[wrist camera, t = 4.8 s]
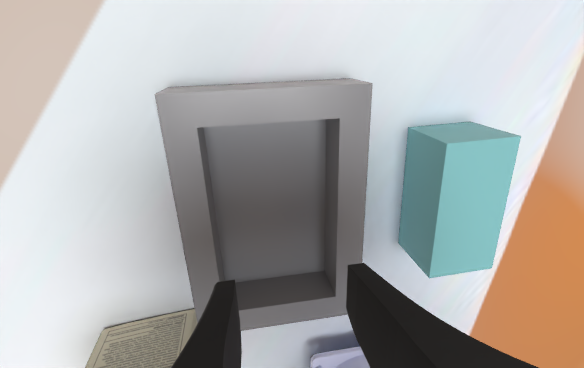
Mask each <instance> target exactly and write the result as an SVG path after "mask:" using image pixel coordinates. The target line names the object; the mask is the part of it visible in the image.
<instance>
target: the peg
mask: <svg viewBox="0 0 584 368" xmlns="http://www.w3.org/2000/svg"><path fill="white" fill-rule="evenodd" d="M520 138H521V136H518V135H515V134H511V133H508V132H504V131H501V130H497V129H494V128H490V127H487V126H484V125H480V124H477V123H473V122H461V123H450V124H439V125H428V126H417V127H408V137H407V148H406V160H405V172H404V183H403V195H402V207H401V218H400V230H399V242H398V243H399V244H400V245H401V246H402V248H403V249H404V250H405V251H406V252H407V253H408V254H409V256H410V257H411V258H412V259H413V260H414V261H415V262H416V264H417V265H418V266H419V267H420V268H421V269H422V271H423V272H424V273H425V274H426V275H427V276H428V277H429V278H434V277H440V276H446V275H452V274H459V273H465V272H471V271H477V270H484V269H490V268H492V265H493V260H494V256H495V251H496V247H497V242H498V238H499V233H500V229H501V224H502V220H503V215H504V210H505V206H506V201H507V197H508V192H509V188H510V183H511V179H512V174H513V170H514V165H515V161H516V156H517V151H518V147H519V142H520Z"/></svg>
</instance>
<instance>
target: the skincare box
mask: <svg viewBox="0 0 584 368" xmlns="http://www.w3.org/2000/svg"><path fill="white" fill-rule="evenodd" d="M196 325H197V318H196V312H195V309H191V310H186V311H181V312H176V313H171V314H167V315H162V316H158V317H153V318H149V319H145V320H140V321H135V322H131V323H126V324H123V325H119V326H115V327H111V328H107V329H104V330H103V331H102V333H101V335H100V337H99V339H98V341H97V343H96V345H95V347H94V349H93V352H92V354H91V356H90V358H89V360H88V362H87V365H86V367H85V368H171V367H172V365H173V364H174V362H175V361H176V359H177V358H178V356H179V355H180V353H181V351H182V350H183V348H184V346H185V345H186V343H187V341H188V340H189V338H190V336H191V334H192V333H193V331H194V329H195V327H196Z"/></svg>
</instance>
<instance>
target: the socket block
mask: <svg viewBox="0 0 584 368" xmlns="http://www.w3.org/2000/svg"><path fill="white" fill-rule="evenodd" d="M155 99H156V104H157V110H158V115H159V120H160V126H161V131H162V136H163V142H164V147H165V152H166V158H167V163H168V168H169V174H170V179H171V184H172V190H173V195H174V200H175V206H176V211H177V216H178V222H179V227H180V232H181V238H182V243H183V248H184V254H185V259H186V264H187V270H188V275H189V280H190V286H191V291H192V296H193V302H194V307H195V312H196V318H197V323H198V322H199V320H200V318H201V316H202V314H203V312H204V310H205V307H206V305H207V303H208V301H209V299H210V296H211V294H212V291H213V288H214V285H215V284H216V283H217V282H221V281H229V280H235V285H236V293H237V301H238V309H239V317H240V329H241V331H242V330H249V329H255V328H262V327H269V326H275V325H282V324H288V323H295V322H301V321H308V320H315V319H321V318H328V317H334V316H341V315H347V314H348V313H347V310H346V296H347V271H348V265H351V264H359V263H362V252H363V235H364V218H365V201H366V184H367V167H368V150H369V133H370V116H371V99H372V83H369V82H364V81H360V80H355V79H331V80H310V81H290V82H269V83H248V84H228V85H207V86H186V87H168V88H166V89H164V90H162V91H160V92H158V93H156V94H155Z"/></svg>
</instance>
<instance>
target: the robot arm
mask: <svg viewBox="0 0 584 368" xmlns="http://www.w3.org/2000/svg"><path fill="white" fill-rule="evenodd" d="M346 310H347V313H348V316H349V319H350V322H351V325H352V328H353V331H354V334H355V336H356V338H357V341H358V343H359V345H360V346H359V347H353V348H347V349H341V350H335V351H329V352H323V353H317V354H315V355H313V356H312V357H311V368H538V367H536V366H533V365H531V364H528V363H526V362H524V361H521V360H519V359H517V358H514V357H512V356H510V355H507V354H505V353H503V352H500V351H499V350H496V349H494V348H492V347H490V346H488V345H486V344H484V343H482V342H480V341H478V340H476V339H474V338H472V337H470V336H468V335H466V334H465V333H463V332H461V331H459V330H458V329H456V328H454V327H452V326H451V325H449V324H447V323H445V322H444V321H442V320H440V319H439V318H437V317H436V316H434V315H432V314H431V313H429V312H428V311H426V310H425V309H424V308H422V307H421V306H419V305H418V304H416V303H415V302H413V301H412V300H411V299H409V298H408V297H406V296H405V295H404V294H402V293H401V292H400V291H398V290H397V289H396V288H394V287H393V286H392V285H391V284H389V283H388V282H387V281H386V280H384V279H383V278H382V277H381V276H379V275H378V274H377V273H376V272H374V271H373V270H372V269H371V268H369V267H368V266H367V265H366V264H364V263H359V264H351V265H348V271H347V296H346ZM171 368H241V329H240V317H239V309H238V301H237V293H236V285H235V280H229V281H221V282H217V283H216V284H215V285H214V288H213V291H212V294H211V296H210V299H209V301H208V303H207V305H206V307H205V310H204V312H203V314H202V316H201V318H200V320H199V322H198V323H197V325H196V327H195V329H194V331H193V333H192V334H191V336H190V338H189V340H188V341H187V343H186V345H185V346H184V348H183V350H182V351H181V353H180V355H179V356H178V358H177V359H176V361H175V362H174V364H173V365H172V367H171Z"/></svg>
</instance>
